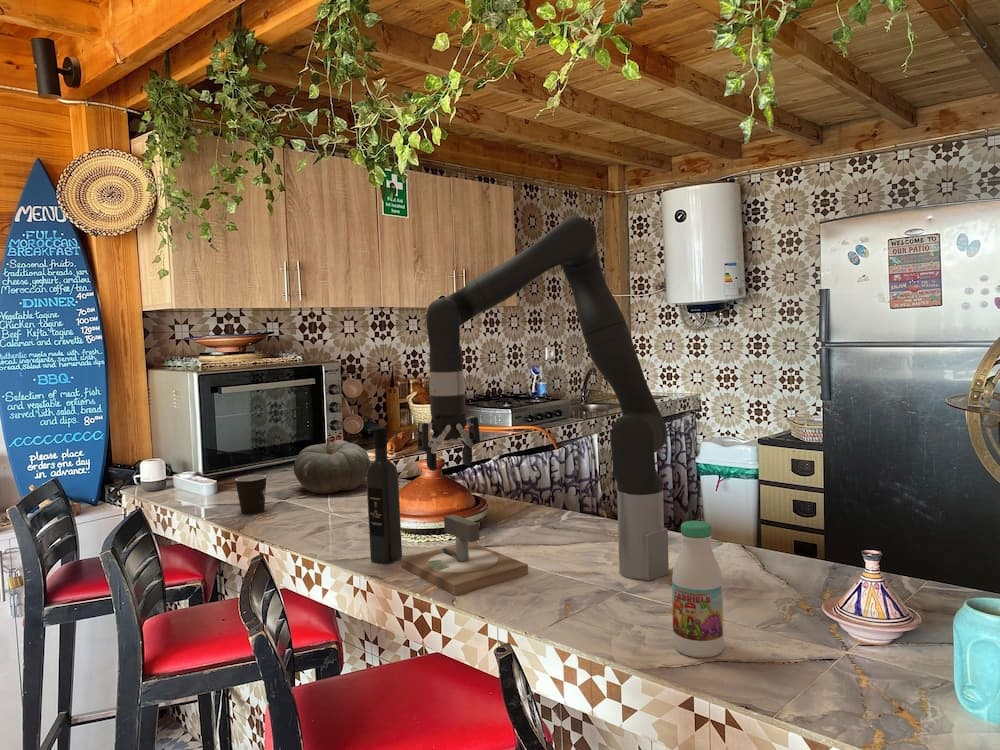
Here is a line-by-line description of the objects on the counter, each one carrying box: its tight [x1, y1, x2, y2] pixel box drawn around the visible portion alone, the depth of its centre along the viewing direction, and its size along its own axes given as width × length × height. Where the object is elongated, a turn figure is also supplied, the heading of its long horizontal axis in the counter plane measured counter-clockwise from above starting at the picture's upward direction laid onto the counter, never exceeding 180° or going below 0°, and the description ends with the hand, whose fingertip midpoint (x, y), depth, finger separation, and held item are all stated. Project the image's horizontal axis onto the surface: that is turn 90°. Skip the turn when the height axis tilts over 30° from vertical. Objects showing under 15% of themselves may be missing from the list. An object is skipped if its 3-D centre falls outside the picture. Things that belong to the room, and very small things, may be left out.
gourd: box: [293, 437, 372, 495], centre depth 241 cm, size 25×25×17 cm
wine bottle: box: [365, 426, 403, 565], centre depth 165 cm, size 6×6×30 cm
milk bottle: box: [671, 520, 725, 659], centre depth 116 cm, size 8×8×20 cm
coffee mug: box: [234, 474, 267, 515], centre depth 217 cm, size 12×9×10 cm
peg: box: [442, 514, 480, 561], centre depth 158 cm, size 12×3×8 cm, turn 36°
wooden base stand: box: [400, 541, 529, 596], centre depth 157 cm, size 22×18×2 cm
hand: (450, 467), depth 159 cm, fingers open, 8 cm apart
